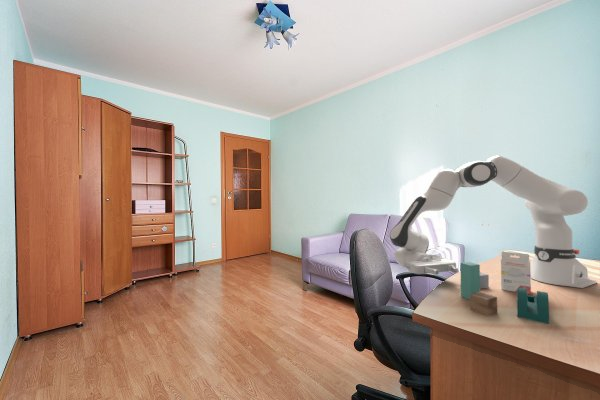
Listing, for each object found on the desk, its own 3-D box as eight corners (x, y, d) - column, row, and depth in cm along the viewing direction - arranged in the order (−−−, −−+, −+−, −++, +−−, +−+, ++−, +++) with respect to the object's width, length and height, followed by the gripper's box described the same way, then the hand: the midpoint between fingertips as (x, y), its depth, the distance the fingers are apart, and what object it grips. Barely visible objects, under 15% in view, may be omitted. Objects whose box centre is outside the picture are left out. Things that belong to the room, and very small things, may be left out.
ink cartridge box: (530, 291, 97) (530, 252, 97) (530, 295, 94) (530, 254, 94) (502, 286, 103) (502, 249, 103) (500, 289, 99) (500, 251, 99)
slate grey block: (476, 283, 107) (476, 271, 107) (488, 287, 102) (488, 274, 102) (467, 284, 106) (467, 272, 106) (478, 288, 101) (478, 275, 101)
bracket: (548, 324, 72) (548, 296, 72) (517, 317, 76) (517, 291, 76) (544, 304, 86) (544, 280, 86) (517, 299, 90) (517, 276, 90)
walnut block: (479, 307, 84) (479, 291, 84) (497, 313, 79) (497, 297, 79) (470, 310, 82) (470, 294, 82) (487, 316, 77) (487, 299, 77)
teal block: (469, 294, 94) (469, 262, 94) (479, 299, 90) (479, 264, 90) (460, 296, 93) (460, 262, 93) (470, 300, 89) (470, 265, 89)
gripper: (401, 257, 112) (424, 265, 99) (440, 254, 117) (467, 261, 104) (401, 272, 112) (424, 282, 99) (440, 268, 117) (467, 277, 104)
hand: (446, 271), depth 101 cm, fingers open, 8 cm apart
